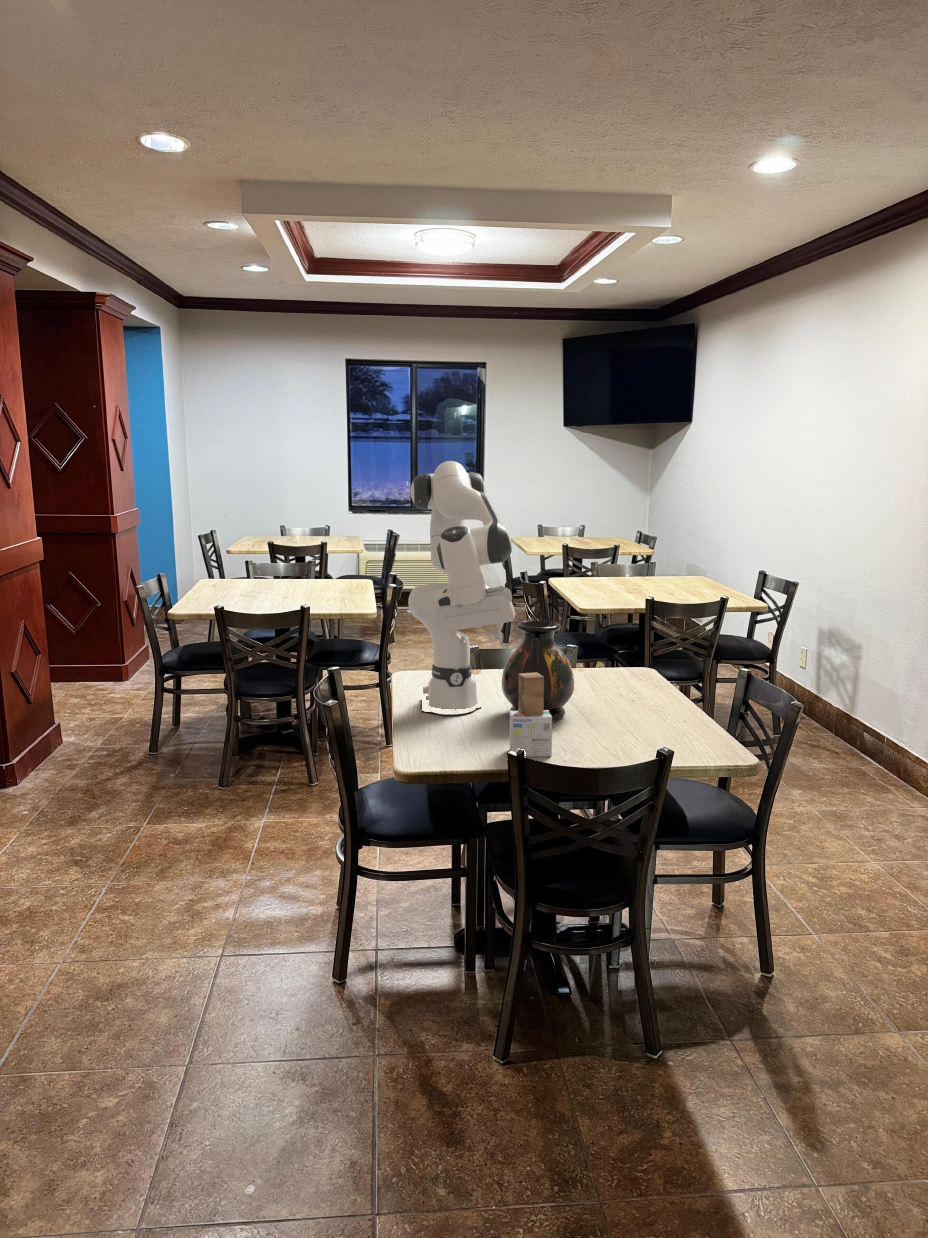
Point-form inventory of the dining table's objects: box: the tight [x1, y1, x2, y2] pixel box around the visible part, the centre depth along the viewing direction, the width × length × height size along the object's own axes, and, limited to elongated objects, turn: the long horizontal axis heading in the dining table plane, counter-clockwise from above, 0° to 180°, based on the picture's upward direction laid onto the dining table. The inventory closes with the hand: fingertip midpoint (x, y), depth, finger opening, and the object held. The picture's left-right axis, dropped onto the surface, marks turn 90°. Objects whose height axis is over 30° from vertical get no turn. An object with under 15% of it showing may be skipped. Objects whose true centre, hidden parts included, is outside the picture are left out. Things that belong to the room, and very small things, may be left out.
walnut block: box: [518, 672, 544, 717], centre depth 216 cm, size 5×5×10 cm
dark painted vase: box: [501, 619, 575, 722], centre depth 249 cm, size 22×22×28 cm
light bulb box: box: [509, 710, 553, 758], centre depth 218 cm, size 11×7×11 cm, turn 92°
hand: (480, 641), depth 215 cm, fingers open, 8 cm apart
